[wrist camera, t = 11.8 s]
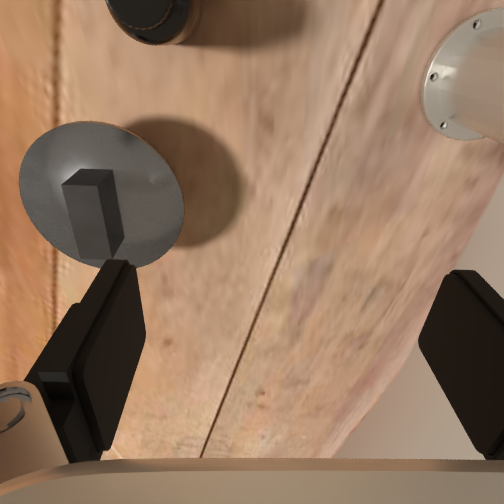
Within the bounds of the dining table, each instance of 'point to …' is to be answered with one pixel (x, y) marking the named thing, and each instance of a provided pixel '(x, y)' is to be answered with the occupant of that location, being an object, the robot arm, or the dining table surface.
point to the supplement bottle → (156, 19)
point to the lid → (101, 194)
